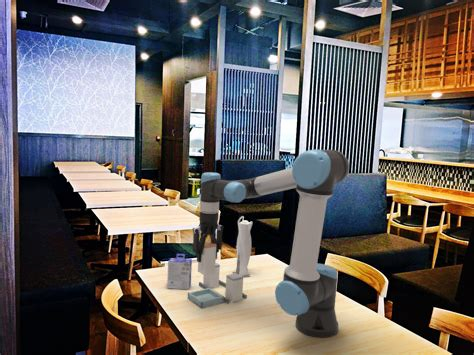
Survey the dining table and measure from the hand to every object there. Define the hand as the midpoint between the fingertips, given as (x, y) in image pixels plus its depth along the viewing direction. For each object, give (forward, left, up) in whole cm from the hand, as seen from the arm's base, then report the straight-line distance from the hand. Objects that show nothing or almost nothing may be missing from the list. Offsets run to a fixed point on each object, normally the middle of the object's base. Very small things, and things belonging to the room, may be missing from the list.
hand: (206, 268), depth 164 cm
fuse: (0, 0, -2) cm, 2 cm away
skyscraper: (+17, -32, -14) cm, 39 cm away
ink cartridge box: (+18, +2, -14) cm, 23 cm away
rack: (+4, -11, -14) cm, 18 cm away
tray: (0, 0, -14) cm, 14 cm away
